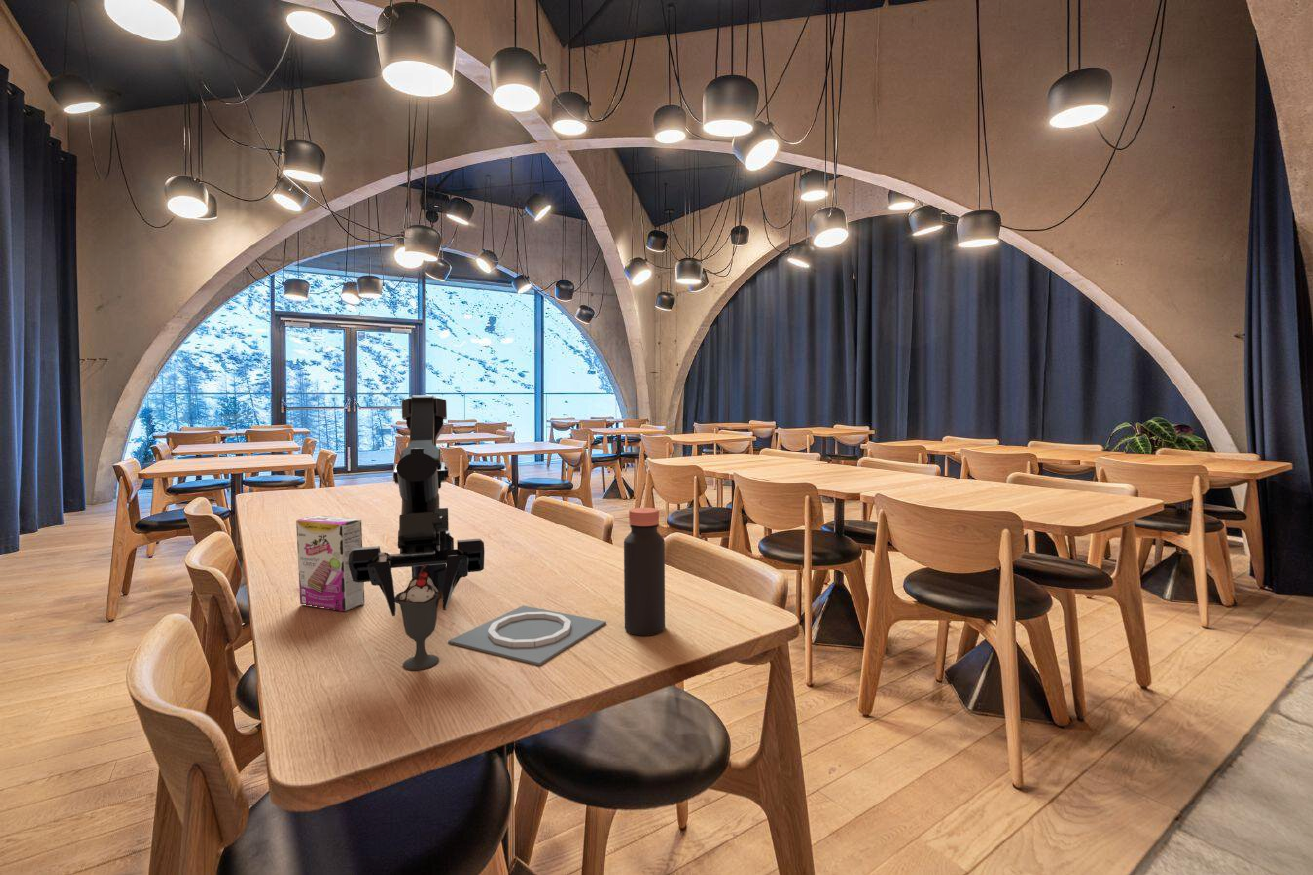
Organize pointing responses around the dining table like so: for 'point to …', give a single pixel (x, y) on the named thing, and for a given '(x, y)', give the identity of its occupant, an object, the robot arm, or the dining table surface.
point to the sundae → (419, 617)
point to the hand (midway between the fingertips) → (419, 611)
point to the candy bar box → (328, 562)
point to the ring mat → (528, 634)
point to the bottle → (644, 574)
